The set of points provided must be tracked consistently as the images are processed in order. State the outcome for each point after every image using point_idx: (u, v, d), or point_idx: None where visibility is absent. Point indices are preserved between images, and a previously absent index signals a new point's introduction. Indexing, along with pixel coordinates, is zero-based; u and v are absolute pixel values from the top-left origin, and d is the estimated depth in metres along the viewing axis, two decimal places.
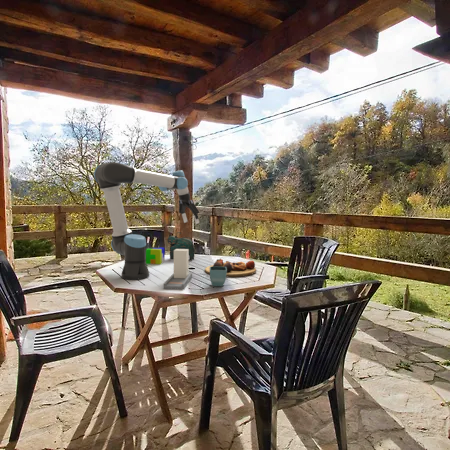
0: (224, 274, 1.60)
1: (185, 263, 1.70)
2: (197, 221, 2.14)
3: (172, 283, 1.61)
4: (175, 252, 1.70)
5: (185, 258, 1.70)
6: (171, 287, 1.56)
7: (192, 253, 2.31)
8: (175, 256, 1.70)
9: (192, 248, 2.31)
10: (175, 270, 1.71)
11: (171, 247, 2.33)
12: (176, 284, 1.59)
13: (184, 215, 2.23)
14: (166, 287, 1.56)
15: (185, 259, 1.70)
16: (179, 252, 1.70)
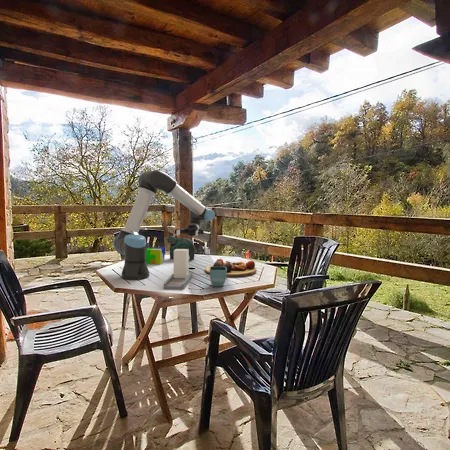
0: (224, 274, 1.60)
1: (185, 263, 1.70)
2: (197, 233, 1.89)
3: (172, 283, 1.61)
4: (175, 252, 1.70)
5: (185, 258, 1.70)
6: (171, 287, 1.56)
7: (192, 253, 2.31)
8: (175, 256, 1.70)
9: (192, 248, 2.31)
10: (175, 270, 1.71)
11: (171, 247, 2.33)
12: (176, 284, 1.59)
13: (179, 232, 1.93)
14: (166, 287, 1.56)
15: (185, 259, 1.70)
16: (179, 252, 1.70)
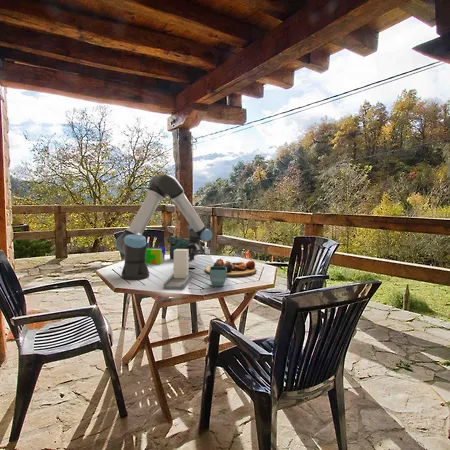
0: (224, 274, 1.60)
1: (185, 263, 1.70)
2: None
3: (172, 283, 1.61)
4: (175, 252, 1.70)
5: (185, 258, 1.70)
6: (171, 287, 1.56)
7: None
8: (175, 256, 1.70)
9: None
10: (175, 270, 1.71)
11: (171, 247, 2.33)
12: (176, 284, 1.59)
13: None
14: (166, 287, 1.56)
15: (185, 259, 1.70)
16: (179, 252, 1.70)
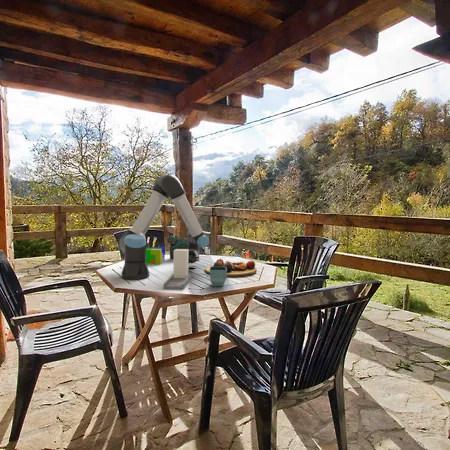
0: (224, 274, 1.60)
1: (185, 263, 1.70)
2: None
3: (172, 283, 1.61)
4: (175, 252, 1.70)
5: (185, 258, 1.70)
6: (171, 287, 1.56)
7: None
8: (175, 256, 1.70)
9: None
10: (175, 270, 1.71)
11: (171, 247, 2.33)
12: (176, 284, 1.59)
13: None
14: (166, 287, 1.56)
15: (185, 259, 1.70)
16: (179, 252, 1.70)
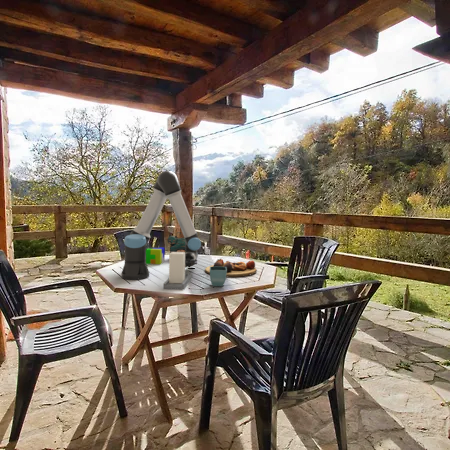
0: (224, 274, 1.60)
1: (181, 267, 1.60)
2: None
3: (172, 283, 1.61)
4: (171, 255, 1.60)
5: (181, 262, 1.60)
6: (171, 287, 1.56)
7: None
8: (171, 260, 1.60)
9: None
10: (171, 274, 1.61)
11: (171, 247, 2.33)
12: (176, 284, 1.59)
13: None
14: (166, 287, 1.56)
15: (181, 263, 1.60)
16: (175, 255, 1.60)
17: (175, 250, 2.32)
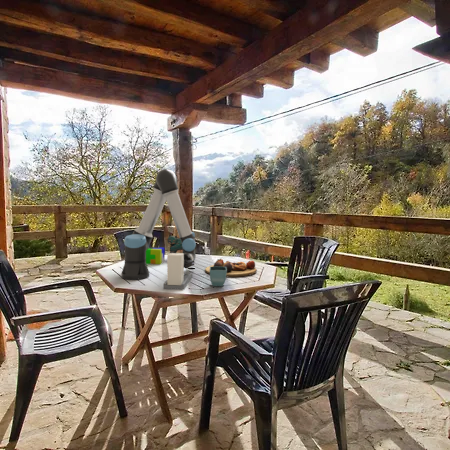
0: (224, 274, 1.60)
1: (180, 269, 1.56)
2: None
3: None
4: (169, 257, 1.56)
5: (180, 263, 1.56)
6: (171, 287, 1.56)
7: None
8: (169, 261, 1.57)
9: None
10: (169, 276, 1.57)
11: (171, 247, 2.33)
12: None
13: None
14: (166, 287, 1.56)
15: (180, 264, 1.56)
16: (173, 257, 1.56)
17: (175, 250, 2.32)
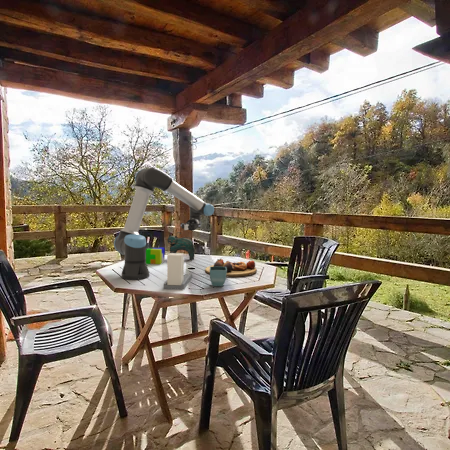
0: (224, 274, 1.60)
1: (180, 269, 1.56)
2: (187, 227, 1.85)
3: None
4: (169, 257, 1.56)
5: (180, 263, 1.56)
6: (171, 287, 1.56)
7: (192, 253, 2.31)
8: (169, 261, 1.56)
9: (192, 248, 2.31)
10: (169, 276, 1.57)
11: (171, 247, 2.33)
12: None
13: None
14: (166, 287, 1.56)
15: (180, 264, 1.56)
16: (173, 257, 1.56)
17: (175, 250, 2.32)
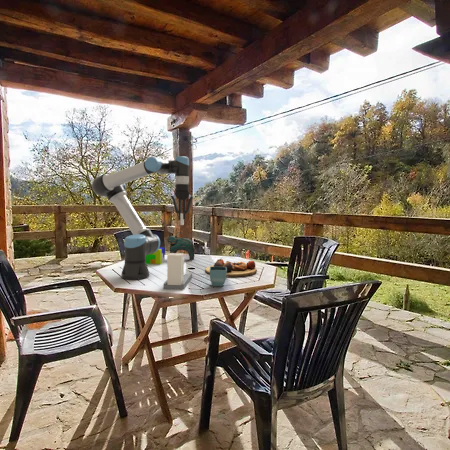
0: (224, 274, 1.60)
1: (180, 269, 1.56)
2: None
3: None
4: (169, 257, 1.56)
5: (180, 263, 1.56)
6: (171, 287, 1.56)
7: (192, 253, 2.31)
8: (169, 261, 1.56)
9: (192, 248, 2.31)
10: (169, 276, 1.57)
11: (171, 247, 2.33)
12: None
13: None
14: (166, 287, 1.56)
15: (180, 264, 1.56)
16: (173, 257, 1.56)
17: (175, 250, 2.32)
